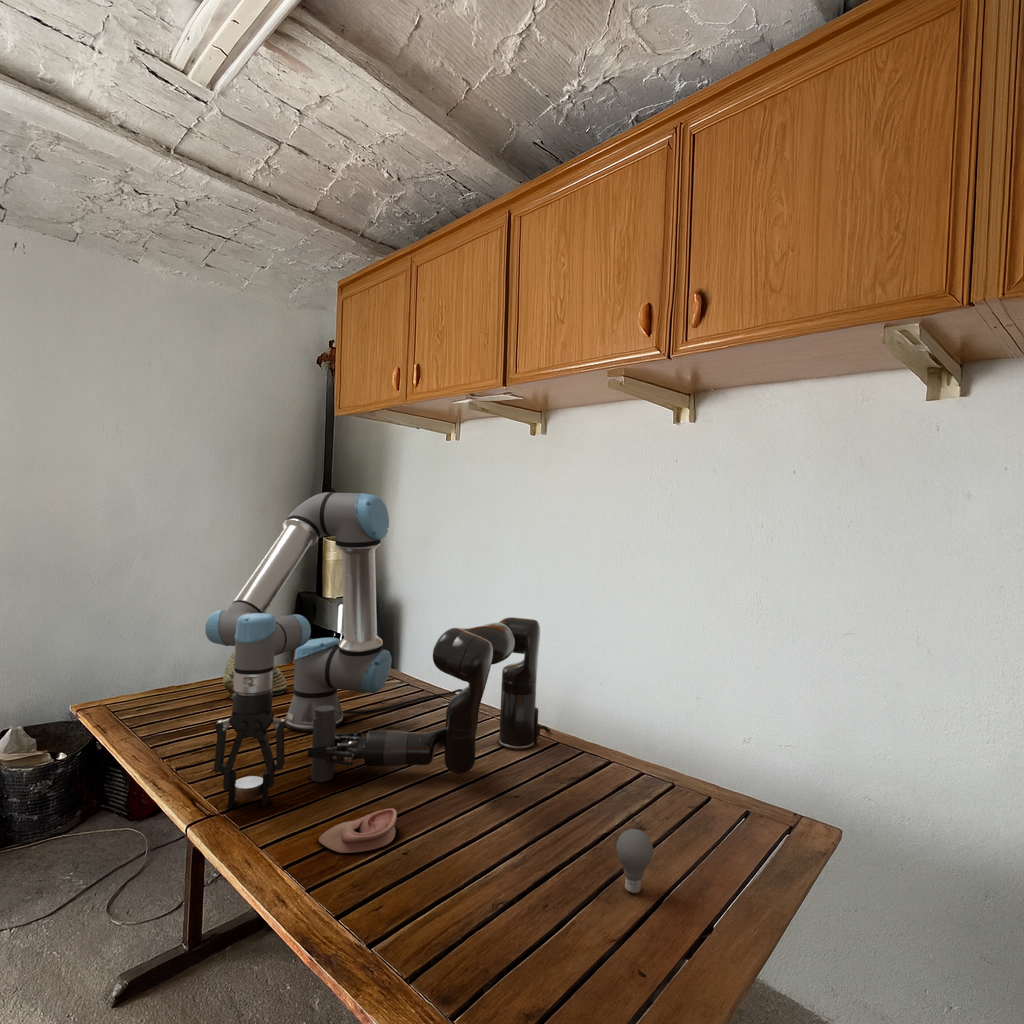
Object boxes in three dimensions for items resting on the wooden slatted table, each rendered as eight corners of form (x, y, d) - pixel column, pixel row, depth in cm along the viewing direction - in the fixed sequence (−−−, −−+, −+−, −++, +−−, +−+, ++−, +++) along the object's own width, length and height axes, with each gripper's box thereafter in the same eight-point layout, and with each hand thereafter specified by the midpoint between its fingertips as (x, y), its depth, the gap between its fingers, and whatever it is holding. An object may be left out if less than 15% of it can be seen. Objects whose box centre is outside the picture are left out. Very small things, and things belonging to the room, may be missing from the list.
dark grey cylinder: (319, 771, 146) (321, 703, 146) (337, 774, 145) (340, 706, 144) (306, 779, 141) (309, 710, 141) (325, 783, 140) (328, 713, 140)
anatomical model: (310, 826, 114) (340, 797, 125) (309, 848, 114) (339, 817, 125) (379, 837, 111) (403, 806, 122) (378, 859, 111) (403, 827, 123)
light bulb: (610, 879, 108) (613, 822, 108) (644, 879, 109) (647, 822, 109) (619, 902, 102) (622, 840, 102) (655, 901, 103) (658, 840, 103)
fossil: (218, 695, 195) (220, 647, 195) (278, 685, 208) (279, 640, 207) (228, 703, 189) (230, 653, 188) (289, 692, 201) (290, 645, 201)
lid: (249, 801, 125) (250, 790, 125) (226, 795, 127) (226, 785, 127) (270, 789, 131) (270, 779, 131) (247, 784, 133) (248, 773, 133)
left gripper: (198, 697, 123) (193, 815, 124) (298, 695, 127) (293, 810, 127) (208, 686, 131) (203, 797, 131) (303, 685, 135) (298, 793, 135)
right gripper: (391, 720, 151) (319, 719, 150) (384, 744, 137) (303, 742, 135) (390, 751, 151) (317, 751, 150) (383, 778, 137) (302, 777, 136)
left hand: (248, 803), depth 129 cm, fingers closed on lid, 6 cm apart
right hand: (311, 747), depth 143 cm, fingers closed on dark grey cylinder, 5 cm apart
